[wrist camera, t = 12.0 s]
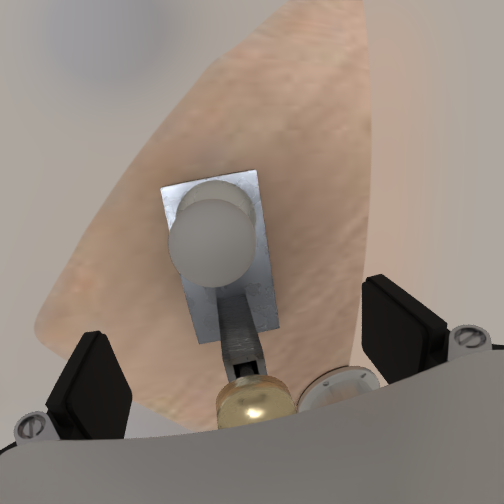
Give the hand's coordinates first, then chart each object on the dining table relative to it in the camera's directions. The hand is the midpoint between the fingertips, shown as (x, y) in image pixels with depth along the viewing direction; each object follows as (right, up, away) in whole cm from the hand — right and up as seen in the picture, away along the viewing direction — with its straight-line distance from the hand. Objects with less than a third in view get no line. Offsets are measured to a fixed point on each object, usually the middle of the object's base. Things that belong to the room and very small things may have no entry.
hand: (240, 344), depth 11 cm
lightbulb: (-4, +6, +19) cm, 20 cm away
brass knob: (0, -6, +13) cm, 14 cm away
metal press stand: (-3, +2, +22) cm, 22 cm away
